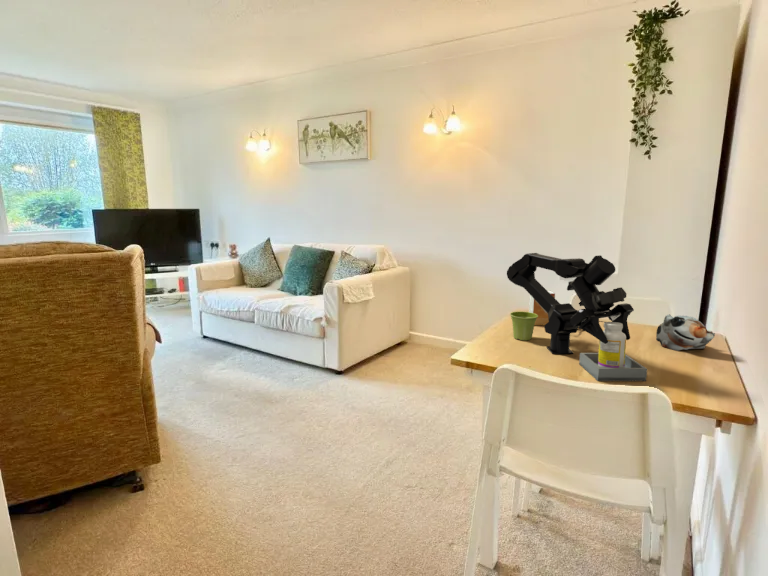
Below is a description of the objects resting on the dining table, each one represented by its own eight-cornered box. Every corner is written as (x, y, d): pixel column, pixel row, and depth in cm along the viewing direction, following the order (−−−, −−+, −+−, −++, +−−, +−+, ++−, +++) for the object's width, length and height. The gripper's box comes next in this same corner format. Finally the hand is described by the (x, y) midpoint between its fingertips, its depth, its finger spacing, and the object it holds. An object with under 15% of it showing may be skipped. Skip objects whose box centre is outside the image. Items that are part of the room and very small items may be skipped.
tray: (579, 364, 129) (580, 352, 128) (622, 364, 128) (623, 352, 127) (597, 381, 116) (598, 368, 116) (646, 381, 116) (647, 368, 115)
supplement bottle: (610, 363, 126) (612, 320, 125) (629, 370, 120) (632, 324, 118) (592, 365, 124) (594, 321, 122) (611, 372, 118) (614, 326, 116)
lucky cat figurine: (710, 346, 142) (727, 315, 133) (696, 367, 137) (712, 337, 128) (661, 325, 151) (673, 295, 143) (646, 345, 146) (658, 314, 137)
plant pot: (530, 334, 159) (532, 311, 158) (540, 341, 150) (542, 317, 148) (505, 334, 159) (506, 311, 157) (514, 342, 150) (515, 318, 148)
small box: (532, 325, 170) (533, 293, 167) (528, 321, 176) (529, 290, 173) (553, 325, 169) (555, 293, 167) (548, 321, 175) (550, 290, 173)
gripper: (581, 280, 118) (612, 330, 110) (631, 275, 124) (663, 322, 116) (557, 303, 126) (585, 350, 118) (605, 297, 133) (634, 342, 125)
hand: (617, 341), depth 119 cm, fingers open, 8 cm apart
